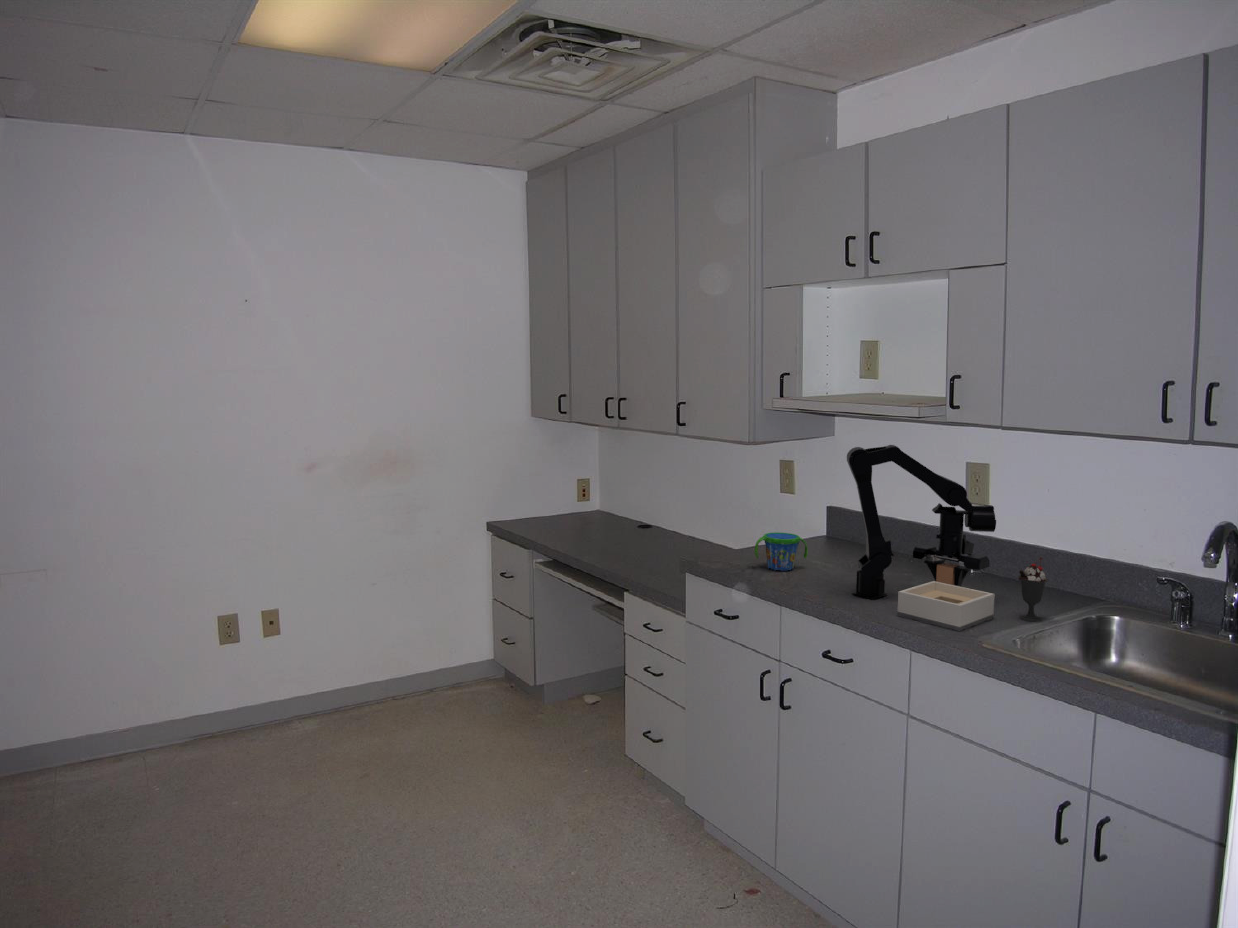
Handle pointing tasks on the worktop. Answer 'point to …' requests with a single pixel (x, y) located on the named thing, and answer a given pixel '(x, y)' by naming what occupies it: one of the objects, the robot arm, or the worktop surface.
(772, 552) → the snack cup
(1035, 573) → the sundae
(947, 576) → the peg
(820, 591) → the worktop surface
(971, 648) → the worktop surface
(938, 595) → the socket box
